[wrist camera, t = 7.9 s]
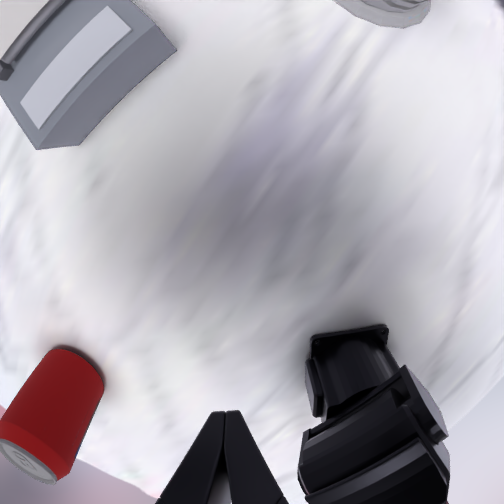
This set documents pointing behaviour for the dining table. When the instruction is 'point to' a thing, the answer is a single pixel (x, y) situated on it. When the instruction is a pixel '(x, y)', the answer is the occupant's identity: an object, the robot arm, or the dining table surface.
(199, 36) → the dining table surface
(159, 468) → the dining table surface
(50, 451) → the beverage can
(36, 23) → the lever
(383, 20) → the french press
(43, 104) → the switch box
